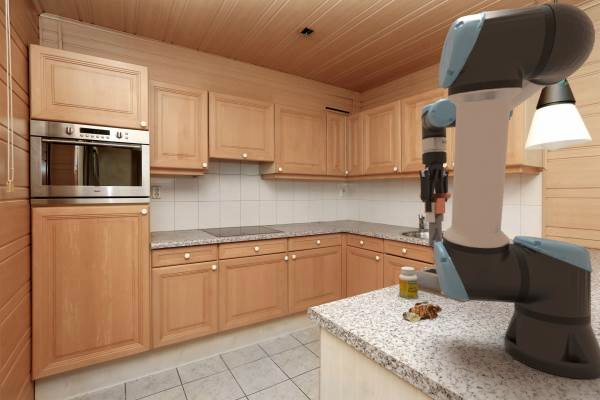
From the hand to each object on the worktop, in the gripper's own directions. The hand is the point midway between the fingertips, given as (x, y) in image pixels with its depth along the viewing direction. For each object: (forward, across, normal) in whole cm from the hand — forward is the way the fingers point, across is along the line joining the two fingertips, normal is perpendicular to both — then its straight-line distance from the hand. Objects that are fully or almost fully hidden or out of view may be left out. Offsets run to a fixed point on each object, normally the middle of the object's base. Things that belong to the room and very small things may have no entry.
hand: (435, 221), depth 102 cm
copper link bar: (+8, 0, 0) cm, 8 cm away
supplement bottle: (+23, -15, 0) cm, 28 cm away
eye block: (+22, 0, 0) cm, 22 cm away
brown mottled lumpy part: (+24, -23, -10) cm, 34 cm away
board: (+23, 0, -4) cm, 23 cm away
